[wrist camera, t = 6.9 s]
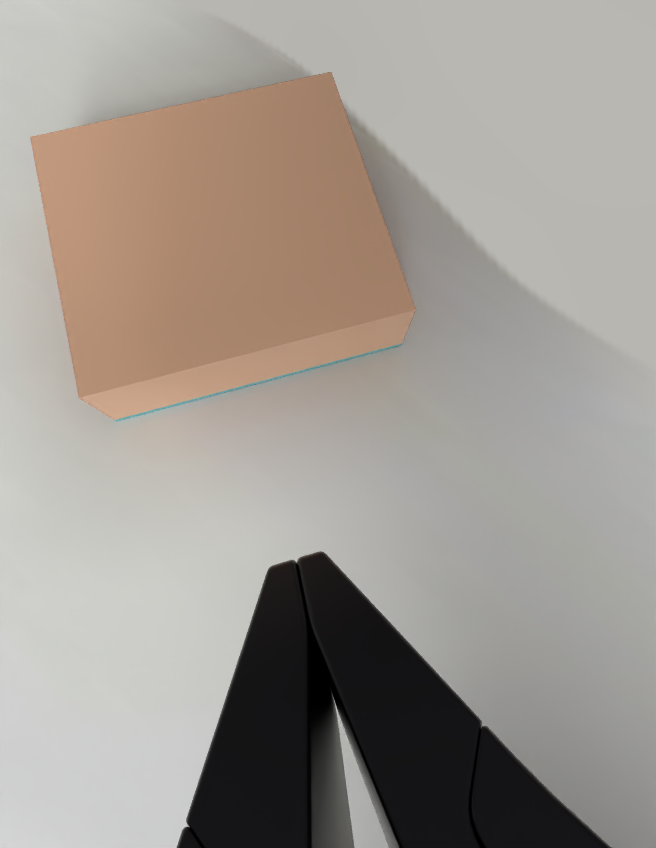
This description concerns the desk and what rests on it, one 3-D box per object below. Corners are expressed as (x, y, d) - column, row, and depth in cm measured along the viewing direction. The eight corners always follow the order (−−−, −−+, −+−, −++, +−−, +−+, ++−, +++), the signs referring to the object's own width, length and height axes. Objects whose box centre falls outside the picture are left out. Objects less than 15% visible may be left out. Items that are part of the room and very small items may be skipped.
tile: (416, 309, 15) (331, 72, 17) (79, 397, 14) (30, 137, 16) (400, 347, 18) (329, 140, 20) (118, 422, 17) (73, 198, 19)
